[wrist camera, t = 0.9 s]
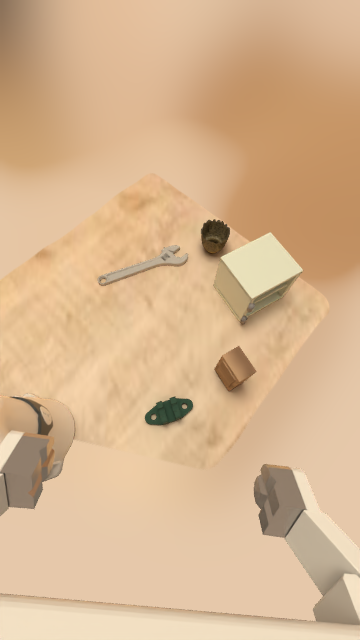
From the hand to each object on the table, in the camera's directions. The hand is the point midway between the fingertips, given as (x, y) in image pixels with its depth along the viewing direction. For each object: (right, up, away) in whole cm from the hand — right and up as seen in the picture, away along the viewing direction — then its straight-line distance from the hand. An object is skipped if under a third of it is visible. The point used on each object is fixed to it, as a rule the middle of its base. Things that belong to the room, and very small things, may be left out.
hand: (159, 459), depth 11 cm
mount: (-2, -15, +53) cm, 55 cm away
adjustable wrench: (-9, +20, +68) cm, 71 cm away
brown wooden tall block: (+12, -8, +56) cm, 58 cm away
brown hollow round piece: (+10, +25, +70) cm, 75 cm away
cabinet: (+19, +13, +64) cm, 68 cm away
